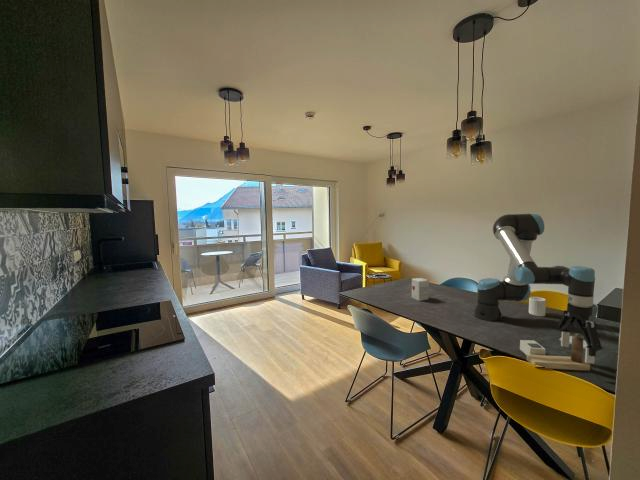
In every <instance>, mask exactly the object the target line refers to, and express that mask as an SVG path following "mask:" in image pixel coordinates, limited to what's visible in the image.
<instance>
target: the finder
mask: <svg viewBox="0 0 640 480" xmlns="http://www.w3.org/2000/svg"><path fill="white" fill-rule="evenodd" d="M519 340H520V341H519V350H520V351H521V352H522V353H524V354H525V355H526V356H527V355H546V348H545V347H544V346H542V345H541V344H540V343H538V342H537V341H536V340H534V339H533V340H528V339H519Z"/></svg>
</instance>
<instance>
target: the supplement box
mask: <svg viewBox="0 0 640 480" xmlns="http://www.w3.org/2000/svg"><path fill="white" fill-rule="evenodd" d="M429 283H430V282H429V280H428V279H425V278H423V277H418V278H417V277H416V278H411V299H414V300H416V301H419V302H420V301H425V300H429V288H430V287H429Z"/></svg>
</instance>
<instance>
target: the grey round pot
mask: <svg viewBox="0 0 640 480" xmlns="http://www.w3.org/2000/svg"><path fill="white" fill-rule="evenodd" d="M591 307H592V308H593V310H592V316H590V317H589V321H590V322H596V319H597V314H598V311H599V305H598V304H596V303H593V306H591Z"/></svg>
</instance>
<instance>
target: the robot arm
mask: <svg viewBox="0 0 640 480" xmlns="http://www.w3.org/2000/svg"><path fill="white" fill-rule="evenodd" d="M544 232H545V222H544V220H543V218H542V217H541V216H540V215H539V214H538V213H537V214H536V213H517V214H516V213H515V214H513V213H512V214H510V213H509V214H508V213H507V214H503V215H502V216H500V217H498V218H497V219H496V220H495V221H494V224H493V226H492V233H493V235H494V237H495V239H497V240H498V241H500V243H501V245H502V246H503V248H504V250H505V251H506V253H507V254H508V257H509V258H510V259H509V265H508V270H507V275H505V276H504V277H503V281H500V279H498V278H489V277H487V278H482V279H479V280H478V282H477V286H476V288H477V290H476V291H477V292H476V293H477V295H476V296H477V297H476V299H477V301H476V305H475V307H474V308H473V309H474V310H473V316H474V317H476V318H478V319H481V320H484V321H489V322H499V321H501V320H502V319H503V313H502V310H501V308H500V301H501V302H502V301H504V302H507V301H508V302H524V301H527V300H529V298H530V297H531V292H532V290H531V286H530V285H563V286H565V287H567V289H568V290H567V305H566V310H564V309H563V313H562V316H561V318H560V320H559V323H558V324H557V328H558V329H560V332H561V337H560V338H561V340H560V346H561V347H564V348H565V347H566V348H567V347H568V348H569V347H570V344H569V340H570V336H571V333H570V332H571V329H572V328H574V327H576V328H578V330H579V331H580V332H581V335H582V336H583V339H584V340H585V341H586V343H587V345H588V346H586V349H585V353H584V354H585V355H584V361H585V363H588V364H595V361H596V360H595V359H596V358H595V357H596V353H597V350H602V349H603V348H602V343H601V341H600V337H599V334H598V330H597V329H598V328H597V323H596V321H595V322H590V321H589V317H590V316H592V310H593V308H592V307H591V306H593V304H594V292H595V283H596V282H595V281H596V277H595V275H596V270H595V269H594V268H592V267H587V266H579V265H575V266H574V265H572V266H570V267H567V266H564V265H553V266H547V267H546V266H538V265H537V264H536V261H534V259H533V257H532V256H531V251H532V246H533V242H535V241H536V240H537V239H538V238H537V237H538V236H540V235H543V233H544Z"/></svg>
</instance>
